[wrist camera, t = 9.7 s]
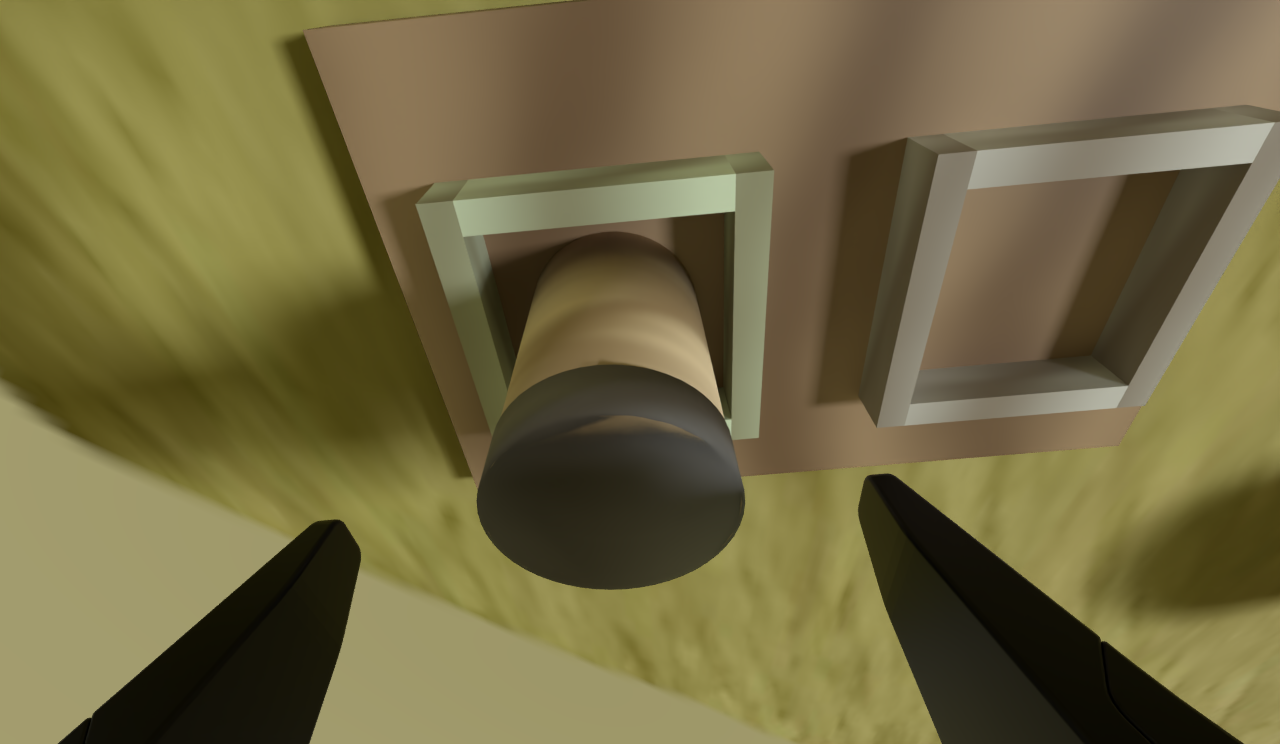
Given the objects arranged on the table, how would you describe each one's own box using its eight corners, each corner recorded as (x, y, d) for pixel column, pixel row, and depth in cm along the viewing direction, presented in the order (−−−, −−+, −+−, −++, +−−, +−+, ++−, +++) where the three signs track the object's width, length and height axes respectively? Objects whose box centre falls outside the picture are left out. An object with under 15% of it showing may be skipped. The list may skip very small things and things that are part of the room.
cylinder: (696, 221, 14) (749, 399, 8) (699, 368, 16) (741, 580, 11) (515, 238, 14) (441, 425, 8) (548, 381, 16) (510, 597, 11)
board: (1363, -82, 11) (1539, -96, 9) (1093, 422, 20) (1153, 478, 17) (328, 25, 12) (263, 36, 10) (487, 472, 20) (471, 532, 18)
